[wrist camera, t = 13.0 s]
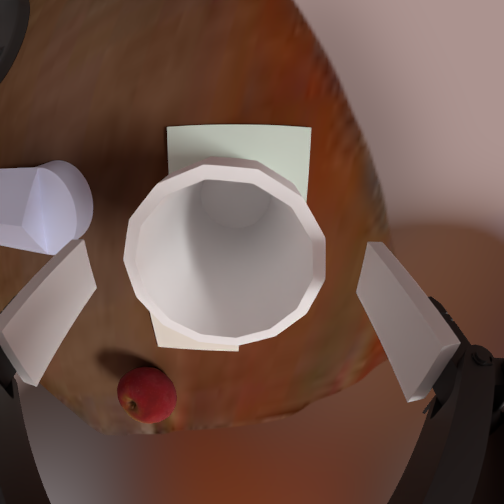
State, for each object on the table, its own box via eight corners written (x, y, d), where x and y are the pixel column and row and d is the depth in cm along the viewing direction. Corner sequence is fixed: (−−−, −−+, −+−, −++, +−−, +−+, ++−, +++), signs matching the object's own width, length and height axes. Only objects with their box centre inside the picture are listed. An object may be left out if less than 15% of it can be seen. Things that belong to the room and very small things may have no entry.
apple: (173, 355, 34) (160, 406, 27) (184, 391, 38) (176, 437, 31) (121, 351, 34) (102, 397, 27) (137, 387, 38) (124, 429, 31)
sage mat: (168, 126, 22) (166, 127, 22) (310, 127, 22) (311, 127, 22) (176, 252, 27) (175, 254, 27) (300, 254, 28) (300, 256, 27)
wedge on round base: (15, 233, 26) (96, 245, 27) (-18, 258, 20) (64, 278, 21) (7, 162, 22) (92, 160, 23) (-32, 178, 16) (51, 176, 17)
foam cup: (174, 148, 23) (101, 184, 11) (284, 133, 22) (322, 152, 10) (193, 248, 27) (157, 348, 15) (292, 237, 26) (322, 336, 15)
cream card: (143, 277, 29) (142, 279, 28) (237, 280, 29) (237, 282, 29) (158, 345, 33) (158, 346, 33) (238, 349, 33) (238, 351, 33)
